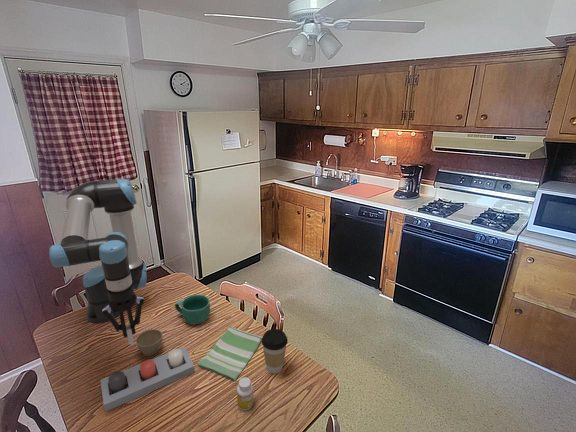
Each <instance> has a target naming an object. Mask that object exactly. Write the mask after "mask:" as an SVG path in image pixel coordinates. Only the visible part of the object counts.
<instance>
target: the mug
mask: <svg viewBox="0 0 576 432" xmlns="http://www.w3.org/2000/svg"><path fill="white" fill-rule="evenodd" d="M210 304H211V303H210V299H209V297H208V296H206V295H203V294H194V295H190V296H188V297H186V298H184V299H183V300H178V301H176V302H175V305H174V308H175V310H176V311H177V312H178V314H181V315H182V317H183V320H184V321H185V322H186V323H188V324H191V325H199V324H201V323H204V322H205V321H207V320H208V318H209V317H210V314H211V305H210Z"/></svg>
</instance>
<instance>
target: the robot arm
mask: <svg viewBox="0 0 576 432" xmlns="http://www.w3.org/2000/svg"><path fill="white" fill-rule="evenodd" d="M134 205H137V198H136V194H135V190H134V187H133V185H132V183H131V181H130V180H129V179H128V178H115V179H105V180H102V179H101V180H91V181H86V182H84V183H82V184H80V185H78V186H77V187H75V188H74V189H73V190H71V192H70V193H69V194H68V196H67V198H66V201H65V208H66V211H67V212H66V216H65V220H64V221H65V222H64V226H63V229H62V230H63V231H62V235H61V240H60V243H56V244H52V245H51V246H50V247H49V252H48V254H49V260H50V263H51V265H52V266H53V267H55V268H62V267H71V266H77V265H83V264H87V263H93V262H100V263H101V265H99V266H96V267H93V268H91V269H89V270H87V272H85V273H84V275H83V276H82V283H83V284H82V286H83V288H84V292H85V296H86V299H87V307H86V311H85V312H86V314H85V315H86V319H87V321H88V322H90V323H92V324H100V323H101V324H102V323H105V322H110V323H111V325H112V326H113V327H114V329H115V331H116V332H120V331H122V336H123V338H127V341H128V345H129V346H130V345H133V344H135V341H134V336H133V335H135V334H136V325H140V323H141V316H142V307H143V305H144V303H145V299H144V296H142V295H139V296H137V294H136V293H135V290H138V289H141V288H144V287H146V286H147V282H148V281H147V275H148V274H147V273H148V272H147V271H148V270H147V263H145V262H144V261H143V260H142V259H141V258H140V257H139V254H138V248H137V242H136V236H135V229H134V223H133V217H132V211H134V209H135V206H134ZM102 208H103V209H104V212H105V213H106V214H107V215H109V218H110V224H111V229H112V232H110V233H108V234H107V235H106V236H105V237H101V238H93V239H89V228H90V220H91V212H93V210H94V209H102ZM135 303H136V305H135ZM134 305H135V314H134V317H133V313H132V312H133V311H132V310H133V309H132V308H133V306H134ZM125 311H126V313H127V316H128V317H127V318H128V323H129V324H127V325H126V320H125V316H124V312H125ZM117 317H119V321H120V322H119V323H120V324H119V323H118V321H117V319H116V318H117Z"/></svg>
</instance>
